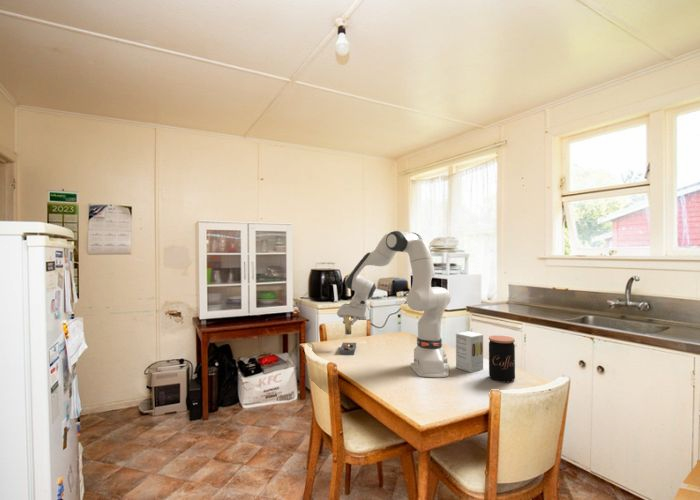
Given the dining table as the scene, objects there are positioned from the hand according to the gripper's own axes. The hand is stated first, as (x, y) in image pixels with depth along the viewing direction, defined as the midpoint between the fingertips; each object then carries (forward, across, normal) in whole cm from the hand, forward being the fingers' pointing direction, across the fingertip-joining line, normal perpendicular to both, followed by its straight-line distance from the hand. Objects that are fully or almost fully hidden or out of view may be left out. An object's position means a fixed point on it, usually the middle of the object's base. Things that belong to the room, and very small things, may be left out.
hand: (347, 323), depth 202 cm
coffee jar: (+9, +82, +14) cm, 84 cm away
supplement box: (+5, +66, +18) cm, 69 cm away
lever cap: (+4, 0, +5) cm, 6 cm away
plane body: (+10, 0, +12) cm, 16 cm away
